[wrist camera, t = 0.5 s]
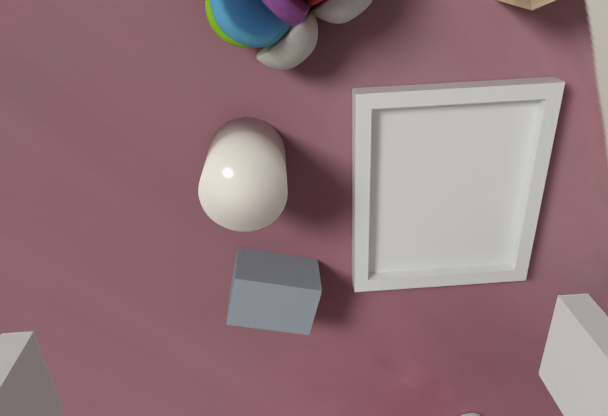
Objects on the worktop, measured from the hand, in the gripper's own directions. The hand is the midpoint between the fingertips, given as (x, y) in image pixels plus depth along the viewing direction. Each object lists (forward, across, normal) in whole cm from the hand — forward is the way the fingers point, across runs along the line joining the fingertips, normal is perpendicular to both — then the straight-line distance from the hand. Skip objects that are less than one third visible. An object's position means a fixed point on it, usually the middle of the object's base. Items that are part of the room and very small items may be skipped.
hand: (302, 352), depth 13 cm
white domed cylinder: (+22, -3, -3) cm, 22 cm away
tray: (+22, +11, -7) cm, 25 cm away
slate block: (+22, -2, -13) cm, 26 cm away
